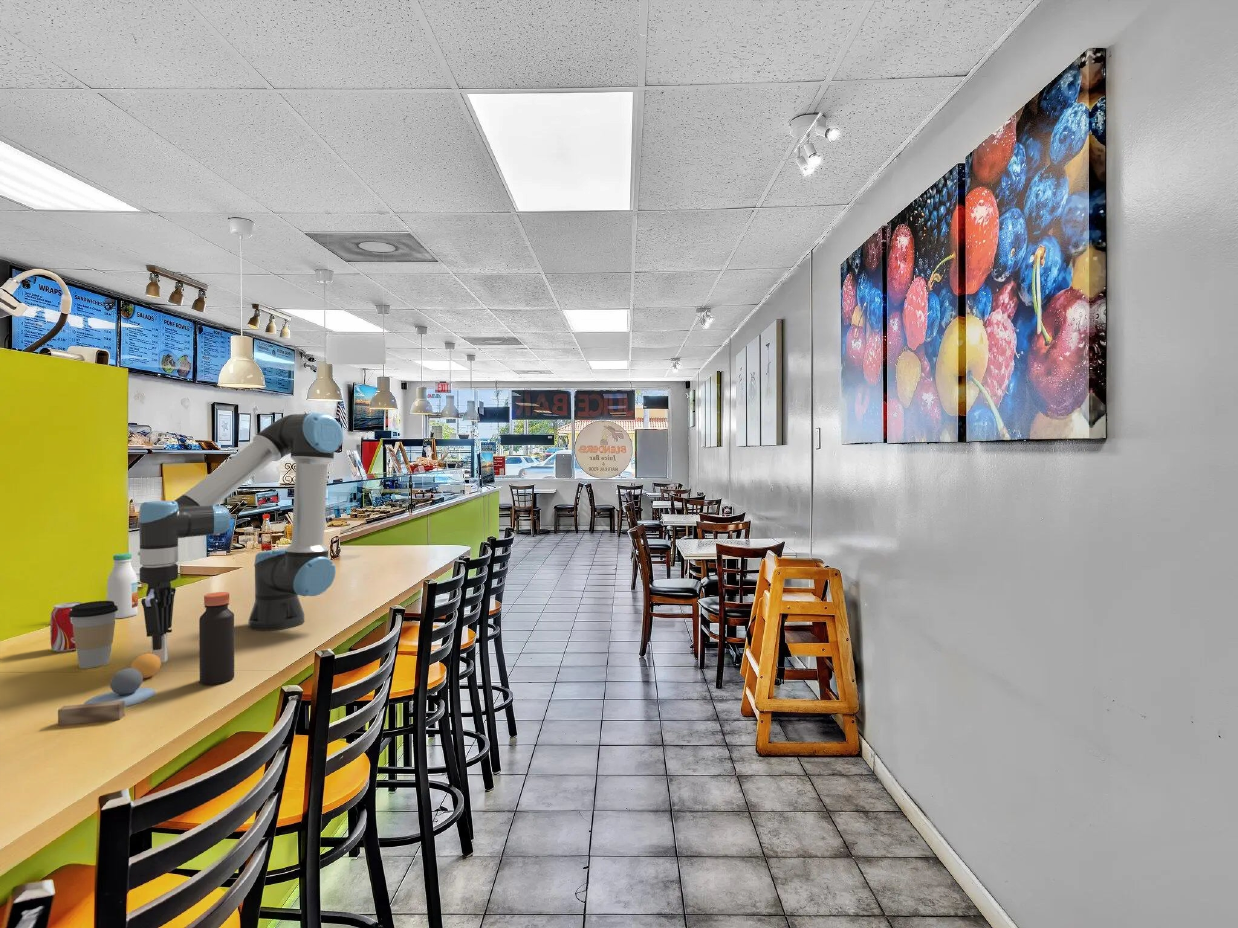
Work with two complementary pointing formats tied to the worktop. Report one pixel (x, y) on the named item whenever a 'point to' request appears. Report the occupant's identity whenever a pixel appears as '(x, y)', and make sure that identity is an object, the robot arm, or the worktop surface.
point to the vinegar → (216, 640)
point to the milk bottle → (123, 586)
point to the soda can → (62, 628)
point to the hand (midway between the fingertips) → (159, 661)
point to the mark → (124, 697)
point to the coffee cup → (93, 632)
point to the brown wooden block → (91, 712)
